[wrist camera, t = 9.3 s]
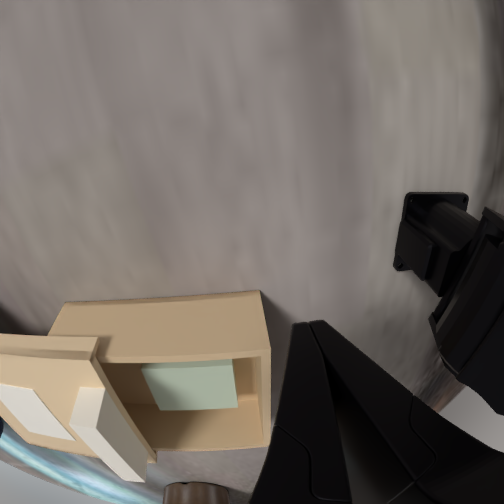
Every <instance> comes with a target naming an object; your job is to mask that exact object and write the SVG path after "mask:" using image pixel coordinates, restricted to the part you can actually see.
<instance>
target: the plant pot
mask: <svg viewBox="0 0 504 504" xmlns="http://www.w3.org/2000/svg"><path fill="white" fill-rule="evenodd" d="M163 504H230V499H229V493H228V491H227V490H226V489H225V488H224V487H222V486H219V485H215V484H210V483H200V482H189V483H188V484H182V483H180V482H179V483H173V484H170V485H167V486H166V487H165V489H164V497H163Z"/></svg>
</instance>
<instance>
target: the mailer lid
mask: <svg viewBox="0 0 504 504" xmlns="http://www.w3.org/2000/svg"><path fill="white" fill-rule="evenodd" d="M99 342H100V340H99V338H98V337H63V336H33V335H14V334H0V416H1V417H2V418H3V419H4V420H5V421H6V422H7V423H8V424H9V425H10V426H11V427H12V428H13V430H14V431H15V432H16V433H18V434H19V435H20V436H21V437H22V438H23V439H24V440H25V441H26V442H27V443H28V444H31V445H35V446H39V447H43V448H48V449H52V450H57V451H62V452H67V453H72V454H78V455H83V456H90V457H96V458H101V459H102V460H103V461H104V462H105V463H106V464H107V465H108V466H109V467H110V468H111V469H112V470H113V471H114V472H115V473H116V474H117V475H119V476H120V477H121V478H122V479H123V480H126V481H135V482H146V469H147V463H157V452H158V451H153V450H152V449H151V447H150V446H149V444H148V443H147V441H146V440H145V439H144V437H143V436H142V434H141V433H140V431H139V430H138V428H137V427H136V425H135V424H134V422H133V421H132V419H131V417H130V416H129V414H128V413H127V411H126V410H125V408H124V406H123V405H122V403H121V401H120V400H119V398H118V396H117V395H116V393H115V391H114V390H113V388H112V386H111V384H110V383H109V381H108V379H107V377H106V375H105V374H104V372H103V370H102V368H101V366H100V364H99V362H98V360H97V359H96V357H95V354H96V351H97V348H98V345H99Z"/></svg>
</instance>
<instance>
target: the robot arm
mask: <svg viewBox="0 0 504 504" xmlns="http://www.w3.org/2000/svg"><path fill="white" fill-rule="evenodd" d="M412 197H413V199H412V201H410V199H411V198H412ZM463 198H464V199H463ZM462 200H463V201H462ZM468 201H469V197H468V195H467V194H465V193H460V192H409V193H407V194H406V196H405V199H404V206H403V213H402V219H401V222H400V227H399V232H398V238H397V244H396V249H395V251H396V253H395V258H394V263H393V267H394V268H395V269H396V270H397V271H405V270H412V271H413V272H414V273H415V274H416V275H417V276H418V277H419V279H420V280H422V281H424V280H425V282H426V283H427V284H428V285H429V286H430V287H431V288H432V290H433V291H434V292H435V293H436V294H437V295H438V297H442V299H441V301H440V302H439V304H438V306H437V307H436V309H435V311H434V312H432V313H431V315H430V317H429V318H428V320H429V323H430V325H431V328H432V331H433V334H434V337H435V340H436V343H437V347H438V350H439V353H440V356H441V359H442V361H443V363H444V365H445V367H446V368H447V369H448V370H449V371H450V372H451V373H452V374H453V375H455V376H456V379H457V380H458V381H459V382H461V383H463V384H465V385H467V386H469V387H470V388H471V389H473V390H474V391H475V392H477V393H478V394H479V395H480V396H481V397H482V398H483V399H484V400H485V401H486V402H487V403H488V404H489V405H490V407H491V408H492V409H493V410H494V411H495V412H496V413H497V414H500V415H503V416H504V216H503V215H501V214H499V213H497V212H495V211H493V210H491V209H489V208H487V207H484V210H483V212H482V215H483V216H482V218H481V221H478V220H477V219H475V218H474V217H473V216H471V215H470V214H468V213H467V212H466V210H467V206H468ZM400 263H401V264H400ZM399 264H400V265H399ZM398 265H399V266H398ZM248 504H504V453H503V452H500V451H497V450H495V449H492V448H490V447H489V446H487V445H485V444H484V443H482V442H481V441H479V440H477V439H476V438H474V437H473V436H471V435H469V434H468V433H466V432H465V431H463V430H461V429H460V428H458V427H457V426H455V425H454V424H452V423H451V422H449V421H448V420H446V419H445V418H443V417H442V416H440V415H439V414H438V413H436V412H435V411H434V410H433V409H431V408H430V407H429V406H427V405H426V404H425V403H424V402H422V401H421V400H420V399H419V398H417V397H416V396H415V395H414V396H413V394H412V393H411V392H410V391H409V390H408V389H406V388H405V387H404V386H403V385H402V384H400V383H399V382H398V381H397V380H395V379H394V378H393V377H392V376H391V375H389V374H388V373H387V372H386V371H385V370H383V369H382V368H381V367H380V366H379V365H377V364H376V363H375V362H374V361H372V360H371V359H370V358H369V357H368V356H366V355H365V354H364V353H363V352H362V351H360V350H359V349H358V348H357V347H356V346H354V345H353V344H352V343H351V342H350V341H348V340H347V339H346V338H345V337H344V336H342V335H341V334H340V333H339V332H338V331H336V330H335V329H334V328H333V327H332V326H330V325H329V324H328V323H327V322H326V321H324V320H316V321H310V322H309V323H307V322H300V323H294V324H293V325H292V329H291V335H290V341H289V347H288V353H287V358H286V364H285V370H284V375H283V381H282V386H281V391H280V397H279V402H278V407H277V412H276V417H275V422H274V427H273V431H272V436H271V440H270V444H269V448H268V452H267V456H266V459H265V462H264V465H263V467H262V470H261V473H260V476H259V478H258V481H257V483H256V485H255V488H254V490H253V492H252V495H251V497H250V499H249V501H248Z"/></svg>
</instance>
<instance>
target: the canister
mask: <svg viewBox="0 0 504 504" xmlns="http://www.w3.org/2000/svg"><path fill="white" fill-rule="evenodd" d="M2 432H3V423H2V421H1V419H0V437H1V435H2Z"/></svg>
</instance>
